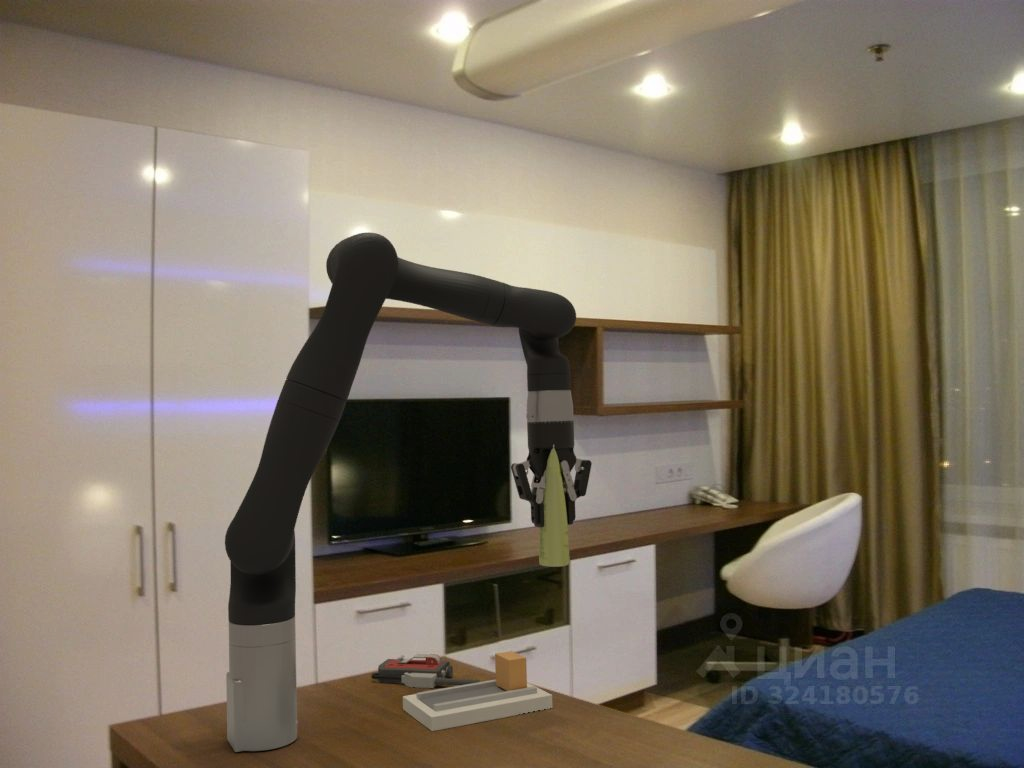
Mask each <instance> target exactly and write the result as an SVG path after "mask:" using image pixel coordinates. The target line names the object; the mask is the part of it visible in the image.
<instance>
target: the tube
mask: <svg viewBox="0 0 1024 768" xmlns="http://www.w3.org/2000/svg"><path fill="white" fill-rule="evenodd" d="M545 482H546V489H545V491H544V497H543V501H542V503H541V504H544V527H538V529H539V531H538V532H539V533H538V534H539V535H538V536H539V538H538V539H539V540H538V541H539V542H538V543H539V544H538V547H539V548H538V563H539V565H540V566H542V567H553V568H560V567H566V566H568V565H570V563H571V562H570V561H571V560H570V558H571V557H570V542H569V527H568V526H569V525H568V524H567V512H566V503H565V495H564V488H563V482H562V476H561V470H560V465H559V460H558V456H557V453H556V451H555V449H554V445H553V449H552V450H551V452H550V455H549V457H548V460H547V471H546V481H545Z"/></svg>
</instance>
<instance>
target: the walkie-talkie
mask: <svg viewBox="0 0 1024 768" xmlns="http://www.w3.org/2000/svg"><path fill="white" fill-rule="evenodd" d="M377 670H378V671H377V672H374V673H372V674H371V679H372V680H378V683H382V684H383V683H384V684H401V685H402V684H403V685H404V686H407V687H410V688H413V687H415V688H416V689H417V688H418V689H419V688H420V689H430V688H433V689H435V688H436V687H437V686H460V685H466V684H472V683H477V682H481V681H480V679H466V678H465V679H464V678H452V676H453V675H454V668H453V665H452V664H451V661H449V660H442V658H441V657H440V655H438V654H434V653H433V654H432V653H431V654H427V653H417V654H415V655H413V656H412V657H411V658H405V655H403V654H402V655H400V656H399V657H398V658H387V659H386V660H384V661H383V662H382V663H380V664H379V665H378V667H377ZM447 677H448V678H447ZM446 678H447V679H446ZM436 685H437V686H436ZM435 686H436V687H435ZM434 687H435V688H434ZM415 688H414V689H415Z"/></svg>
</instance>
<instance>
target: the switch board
mask: <svg viewBox="0 0 1024 768" xmlns="http://www.w3.org/2000/svg"><path fill="white" fill-rule="evenodd" d="M550 708H551V709H553V694H551V693H549V692H547V691H545V690H543V689H541V688H539V687H537V686H535V685H533V684H531V683H529V682H528V681H527V688H522V689H517V690H511V691H506V690H505V689H503V688H501V687H499V686H497V685H496V678H495V679H491V680H485V681H480V682H477V683H472V684H466V685H453V686H448V687H443V688H437V689H433V690H432V689H431V690H425V691H420V692H416V693H413V694H409V695H404V696H402V710H403V711H405V712H406V713H407V714H409V716H411V717H412V718H414V719H415V720H417V721H418V722H419V723H420V724H421V725H423V726H424V727H426V728H427V729H428V730H430V731H431V732H436V731H440V730H441V731H442V730H446V729H452V728H455V727H463V726H466V725H467V726H468V725H472V724H476V723H477V724H478V723H483V722H487V721H492V720H493V721H494V720H497V719H498V720H499V719H503V718H504V719H505V718H508V717H514V716H519V714H520V715H522V714H523V713H525V714H529V713H528V712H530V713H534V712H533V711H535V712H539V711H538V710H540V711H544V709H546V710H550Z"/></svg>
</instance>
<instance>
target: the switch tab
mask: <svg viewBox="0 0 1024 768" xmlns="http://www.w3.org/2000/svg"><path fill="white" fill-rule="evenodd" d="M494 658H495V659H494V661H495V662H494V663H495V664H494V665H495V666H494V667H495V679H496V685H497V686H499V687H501V688H503V689H505V690H506V691H511V690H517V689H522V688H527V682H528V679H527V678H528V677H527V675H528V674H527V671H528V670H527V669H528V668H527V657H526V656H524V655H521V654H520V653H517V652H514V651H513V650H512V651H511V650H509V651H504V652H503V651H502V652H497V653H495V654H494Z"/></svg>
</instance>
